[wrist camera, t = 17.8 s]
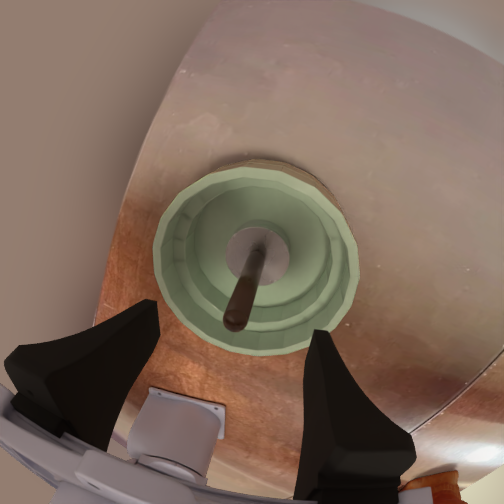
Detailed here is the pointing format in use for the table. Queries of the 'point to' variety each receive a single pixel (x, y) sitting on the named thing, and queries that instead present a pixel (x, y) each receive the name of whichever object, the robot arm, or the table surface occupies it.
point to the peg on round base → (253, 266)
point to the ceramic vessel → (439, 487)
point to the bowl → (223, 281)
